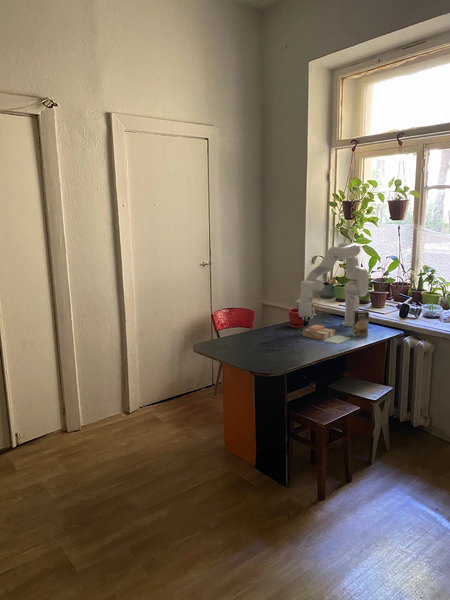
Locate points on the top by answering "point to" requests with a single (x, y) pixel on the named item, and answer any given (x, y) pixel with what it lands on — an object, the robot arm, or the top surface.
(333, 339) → the mat
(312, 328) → the salmon brown flat block
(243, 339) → the top surface
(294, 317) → the plant pot
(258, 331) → the top surface
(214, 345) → the top surface
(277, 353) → the top surface
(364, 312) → the coffee box
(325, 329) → the deck
